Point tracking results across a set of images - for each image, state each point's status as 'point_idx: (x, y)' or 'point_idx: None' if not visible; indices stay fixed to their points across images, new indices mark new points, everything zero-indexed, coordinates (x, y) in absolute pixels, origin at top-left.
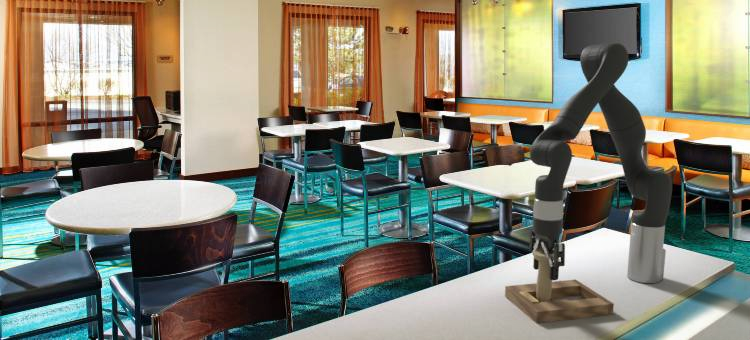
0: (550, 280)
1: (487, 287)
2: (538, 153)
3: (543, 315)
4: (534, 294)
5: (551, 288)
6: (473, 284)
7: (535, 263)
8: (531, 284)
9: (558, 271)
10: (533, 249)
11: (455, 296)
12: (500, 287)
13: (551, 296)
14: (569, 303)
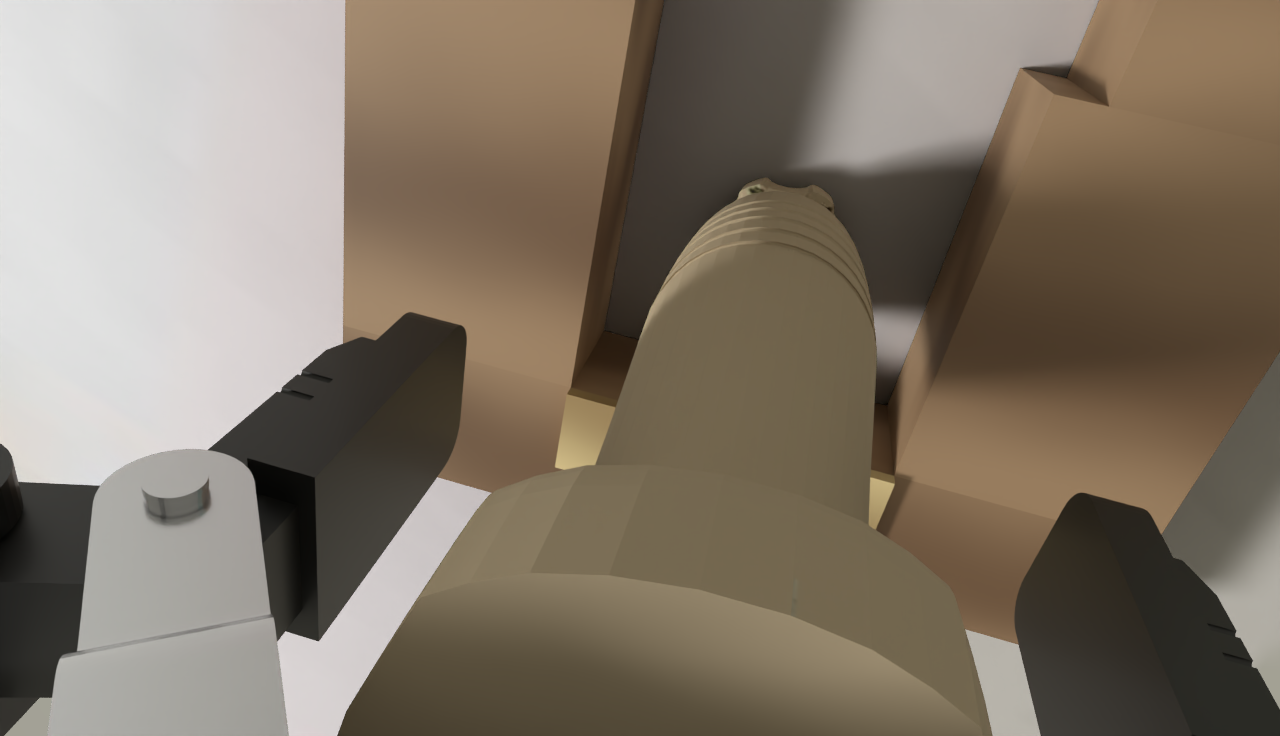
0: (872, 402)
1: (160, 379)
2: None
3: None
4: (599, 265)
5: (859, 291)
6: (79, 434)
7: (402, 513)
8: (367, 146)
9: (1273, 708)
10: (45, 676)
11: (297, 678)
12: (176, 275)
13: (655, 2)
14: (1194, 169)
